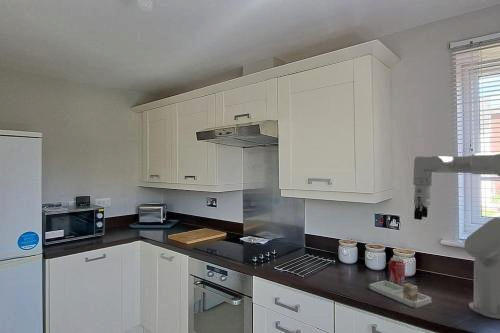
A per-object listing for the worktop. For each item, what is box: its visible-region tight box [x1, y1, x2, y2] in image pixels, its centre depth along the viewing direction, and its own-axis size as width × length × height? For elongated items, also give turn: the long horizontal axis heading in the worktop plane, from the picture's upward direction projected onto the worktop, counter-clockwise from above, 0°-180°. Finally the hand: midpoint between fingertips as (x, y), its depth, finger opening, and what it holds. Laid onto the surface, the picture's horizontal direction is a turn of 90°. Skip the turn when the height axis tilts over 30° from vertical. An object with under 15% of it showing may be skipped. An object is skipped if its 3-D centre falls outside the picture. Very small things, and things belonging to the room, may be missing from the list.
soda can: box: [388, 257, 406, 286], centre depth 149 cm, size 7×7×12 cm
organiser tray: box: [368, 279, 433, 309], centre depth 133 cm, size 22×12×2 cm, turn 29°
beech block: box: [402, 283, 419, 302], centre depth 129 cm, size 4×4×6 cm
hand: (420, 218), depth 143 cm, fingers open, 9 cm apart
